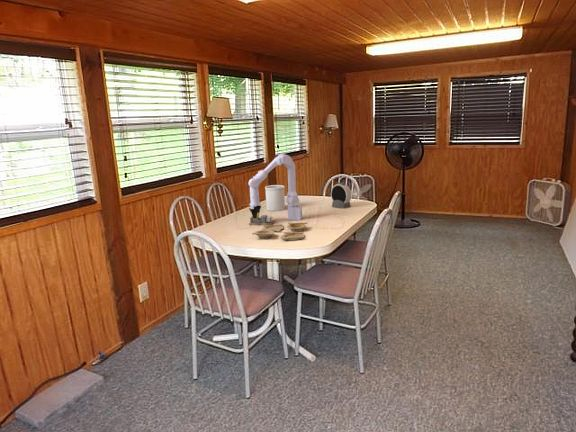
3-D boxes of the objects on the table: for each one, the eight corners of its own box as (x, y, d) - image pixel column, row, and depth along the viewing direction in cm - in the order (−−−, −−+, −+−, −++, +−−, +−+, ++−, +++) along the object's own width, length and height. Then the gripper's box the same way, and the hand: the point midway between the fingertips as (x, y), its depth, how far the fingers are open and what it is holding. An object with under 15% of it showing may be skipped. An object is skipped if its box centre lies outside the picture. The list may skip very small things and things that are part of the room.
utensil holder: (287, 207, 323) (286, 184, 319) (283, 211, 309) (282, 187, 305) (268, 207, 326) (267, 185, 322) (264, 211, 312) (262, 188, 308)
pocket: (263, 220, 278) (263, 215, 278) (260, 223, 272) (260, 218, 271) (253, 220, 280) (253, 215, 279) (250, 223, 273) (250, 217, 273)
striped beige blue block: (272, 221, 275) (272, 216, 274) (271, 222, 272) (271, 217, 271) (262, 221, 276) (262, 216, 276) (261, 222, 274) (260, 217, 273)
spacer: (259, 219, 277) (258, 212, 276) (257, 221, 273) (256, 214, 272) (254, 219, 278) (254, 212, 277) (252, 221, 274) (252, 214, 273)
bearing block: (267, 221, 277) (267, 215, 276) (265, 223, 272) (264, 217, 271) (263, 220, 278) (262, 215, 277) (260, 223, 272) (260, 217, 271)
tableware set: (302, 242, 230) (301, 235, 229) (250, 242, 235) (249, 235, 234) (310, 226, 263) (309, 220, 262) (264, 226, 269) (264, 220, 268)
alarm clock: (328, 206, 319) (327, 182, 314) (337, 204, 325) (337, 180, 321) (345, 209, 307) (344, 184, 303) (353, 206, 313) (353, 182, 309)
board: (275, 221, 278) (275, 220, 278) (271, 225, 269) (271, 223, 269) (253, 221, 282) (253, 220, 281) (249, 225, 272) (249, 223, 272)
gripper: (252, 195, 280) (253, 215, 283) (245, 199, 266) (246, 220, 269) (262, 195, 278) (263, 215, 281) (255, 199, 265) (257, 220, 268)
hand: (256, 217), depth 275 cm, fingers closed on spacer, 4 cm apart
